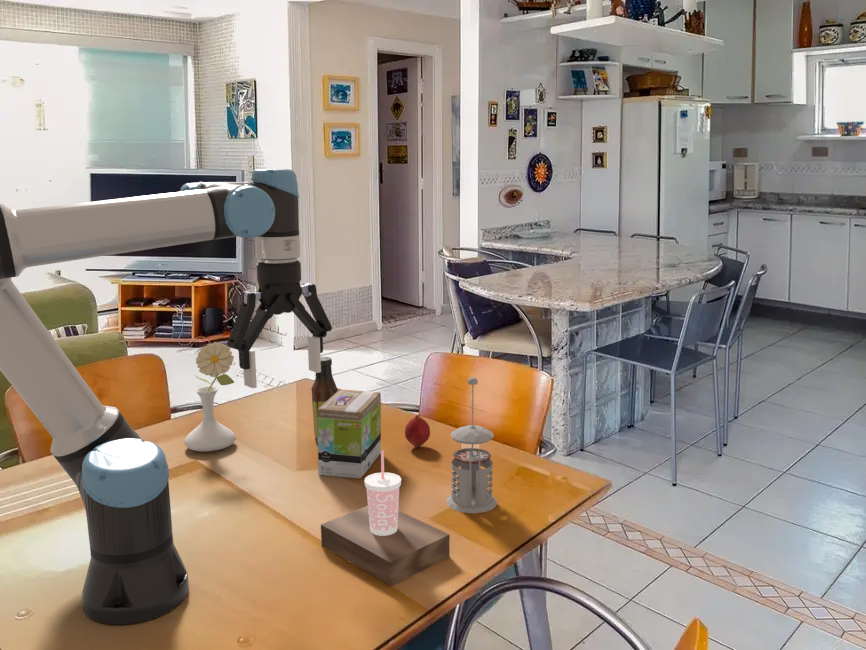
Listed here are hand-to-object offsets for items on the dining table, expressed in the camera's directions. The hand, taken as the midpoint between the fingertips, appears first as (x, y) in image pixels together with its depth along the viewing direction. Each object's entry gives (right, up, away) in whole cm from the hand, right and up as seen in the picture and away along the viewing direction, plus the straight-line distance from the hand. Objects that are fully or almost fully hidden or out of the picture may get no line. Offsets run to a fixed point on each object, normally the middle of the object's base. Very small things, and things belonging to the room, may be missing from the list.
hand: (283, 378), depth 141 cm
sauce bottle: (+2, -18, +44) cm, 48 cm away
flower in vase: (-24, -19, +40) cm, 51 cm away
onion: (+23, -19, +40) cm, 50 cm away
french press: (+34, -25, +11) cm, 44 cm away
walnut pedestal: (+18, -29, -7) cm, 35 cm away
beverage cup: (+18, -25, -8) cm, 32 cm away
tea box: (+9, -21, +31) cm, 38 cm away
